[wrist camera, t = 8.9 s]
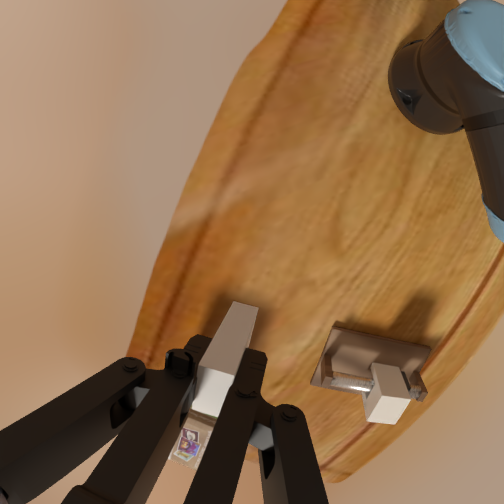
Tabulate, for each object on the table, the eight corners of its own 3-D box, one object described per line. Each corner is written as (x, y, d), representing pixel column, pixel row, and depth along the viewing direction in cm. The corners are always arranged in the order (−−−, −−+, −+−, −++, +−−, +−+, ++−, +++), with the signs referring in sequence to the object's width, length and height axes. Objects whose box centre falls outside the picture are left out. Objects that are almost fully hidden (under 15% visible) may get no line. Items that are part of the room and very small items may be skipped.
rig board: (332, 325, 49) (335, 349, 42) (429, 346, 47) (442, 369, 40) (310, 381, 52) (309, 407, 45) (401, 397, 50) (409, 422, 43)
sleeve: (372, 362, 46) (382, 395, 38) (398, 367, 45) (411, 399, 37) (360, 387, 47) (366, 421, 39) (385, 391, 47) (394, 424, 39)
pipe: (333, 365, 46) (334, 376, 43) (419, 380, 44) (423, 390, 41) (327, 379, 46) (328, 390, 44) (411, 393, 45) (415, 403, 42)
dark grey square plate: (398, 370, 45) (404, 387, 41) (404, 371, 45) (411, 388, 40) (387, 391, 46) (392, 408, 42) (393, 392, 46) (398, 409, 42)
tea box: (190, 353, 55) (159, 404, 41) (242, 373, 54) (223, 430, 40) (176, 404, 59) (149, 453, 45) (221, 422, 58) (201, 474, 44)
